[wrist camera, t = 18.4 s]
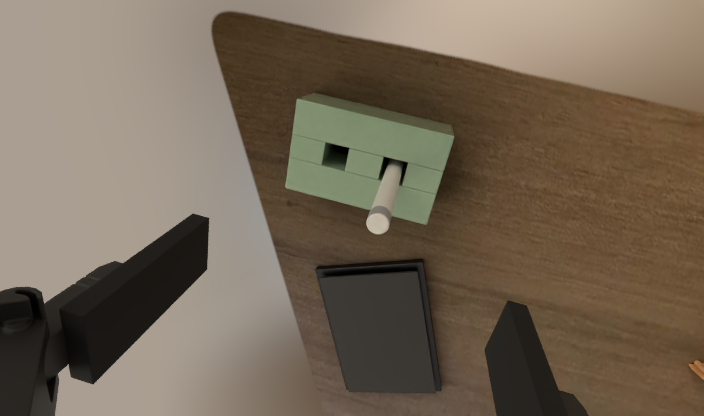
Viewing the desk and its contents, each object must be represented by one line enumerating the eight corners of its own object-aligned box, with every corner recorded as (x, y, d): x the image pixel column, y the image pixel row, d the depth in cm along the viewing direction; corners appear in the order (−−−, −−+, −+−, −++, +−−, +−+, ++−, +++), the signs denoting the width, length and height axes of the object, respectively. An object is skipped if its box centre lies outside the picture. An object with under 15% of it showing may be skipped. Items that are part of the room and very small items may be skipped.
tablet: (317, 266, 43) (315, 270, 42) (422, 258, 40) (422, 262, 39) (347, 385, 49) (346, 390, 48) (441, 386, 46) (441, 391, 45)
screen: (320, 276, 42) (319, 278, 42) (417, 270, 39) (417, 272, 39) (349, 390, 48) (348, 392, 47) (435, 391, 45) (435, 393, 45)
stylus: (387, 158, 37) (361, 222, 23) (398, 149, 36) (379, 209, 22) (396, 169, 37) (376, 239, 23) (407, 160, 36) (394, 227, 23)
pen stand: (313, 92, 35) (296, 98, 31) (451, 124, 34) (454, 136, 30) (301, 172, 39) (284, 188, 34) (427, 204, 38) (426, 225, 33)
